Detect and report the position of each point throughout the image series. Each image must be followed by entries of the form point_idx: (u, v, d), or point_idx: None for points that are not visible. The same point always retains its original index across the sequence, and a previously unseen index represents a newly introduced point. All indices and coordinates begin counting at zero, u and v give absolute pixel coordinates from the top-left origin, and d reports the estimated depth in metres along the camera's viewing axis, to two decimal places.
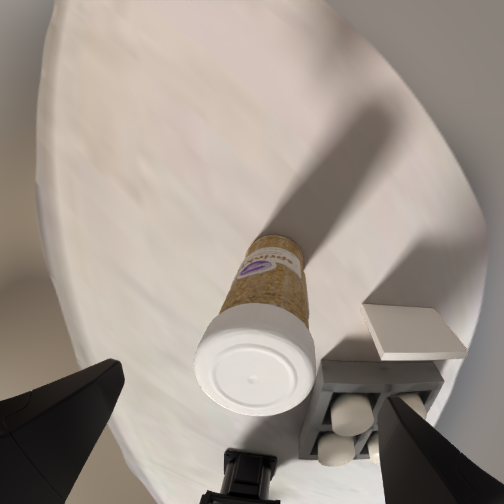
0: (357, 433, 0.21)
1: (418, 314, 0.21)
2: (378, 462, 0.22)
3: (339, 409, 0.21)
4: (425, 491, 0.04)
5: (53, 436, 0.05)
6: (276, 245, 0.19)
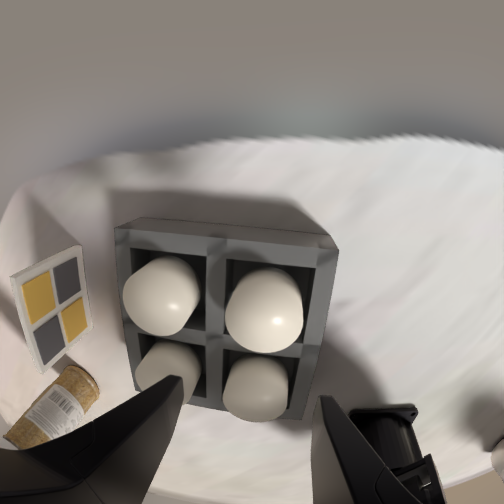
0: (183, 380, 0.15)
1: None
2: (293, 333, 0.13)
3: None
4: (338, 503, 0.04)
5: (124, 469, 0.05)
6: None
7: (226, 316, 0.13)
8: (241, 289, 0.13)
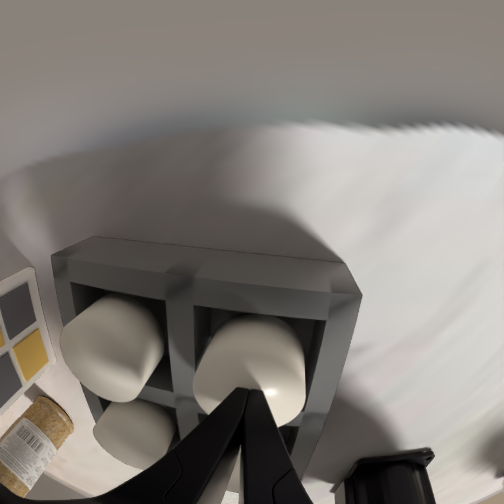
0: (149, 448, 0.10)
1: None
2: (290, 410, 0.08)
3: None
4: (241, 498, 0.05)
5: (211, 494, 0.05)
6: None
7: (194, 387, 0.09)
8: (213, 355, 0.08)
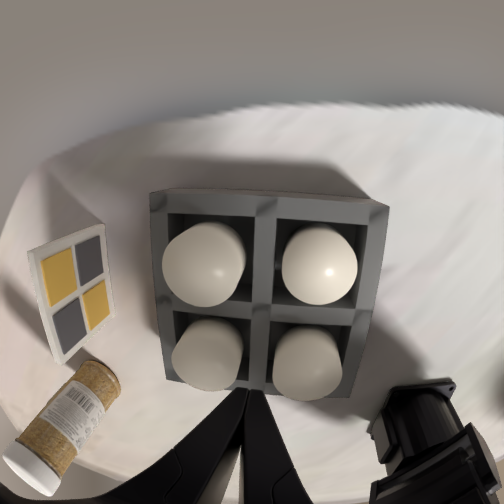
0: (229, 358, 0.14)
1: None
2: (347, 281, 0.14)
3: None
4: (241, 498, 0.05)
5: (211, 494, 0.05)
6: None
7: (283, 267, 0.14)
8: (298, 238, 0.13)
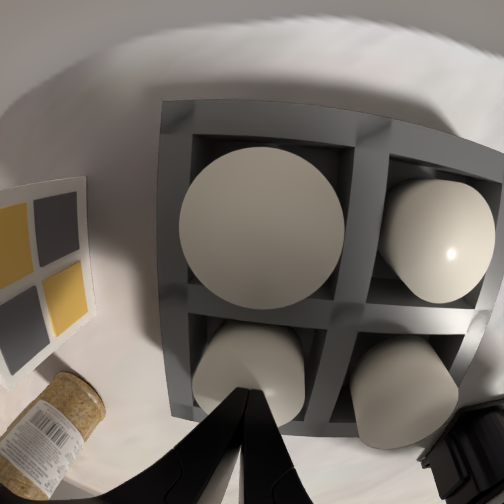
0: (294, 383, 0.08)
1: None
2: (481, 265, 0.07)
3: None
4: (241, 498, 0.05)
5: (211, 494, 0.05)
6: None
7: (402, 237, 0.07)
8: (426, 189, 0.07)
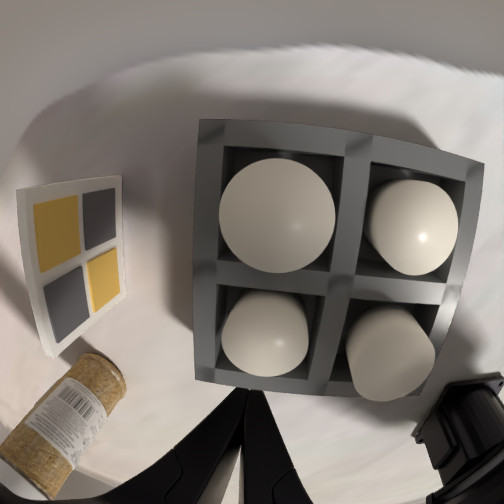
0: (300, 330, 0.11)
1: None
2: (447, 245, 0.10)
3: None
4: (241, 498, 0.05)
5: (211, 494, 0.05)
6: None
7: (380, 223, 0.10)
8: (398, 187, 0.09)
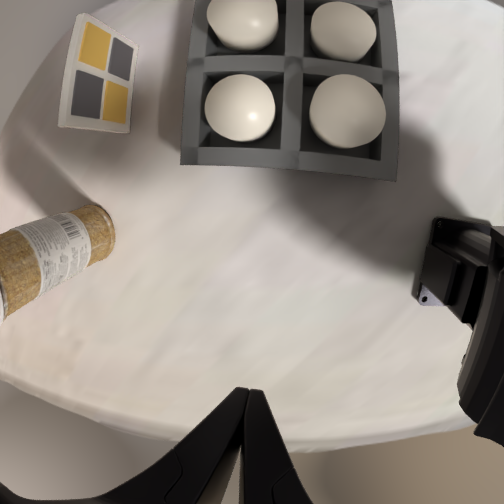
0: (266, 91, 0.13)
1: None
2: (370, 36, 0.12)
3: None
4: (241, 498, 0.05)
5: (211, 494, 0.05)
6: None
7: (313, 21, 0.12)
8: (323, 5, 0.11)
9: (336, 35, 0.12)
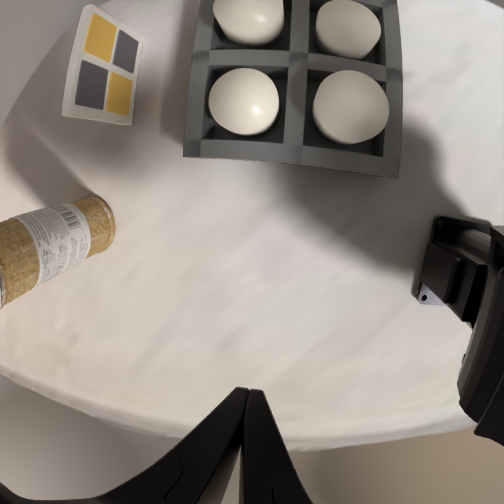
0: (270, 85, 0.13)
1: None
2: (374, 34, 0.11)
3: None
4: (241, 498, 0.05)
5: (211, 494, 0.05)
6: None
7: (318, 17, 0.12)
8: (328, 2, 0.11)
9: (341, 32, 0.12)
